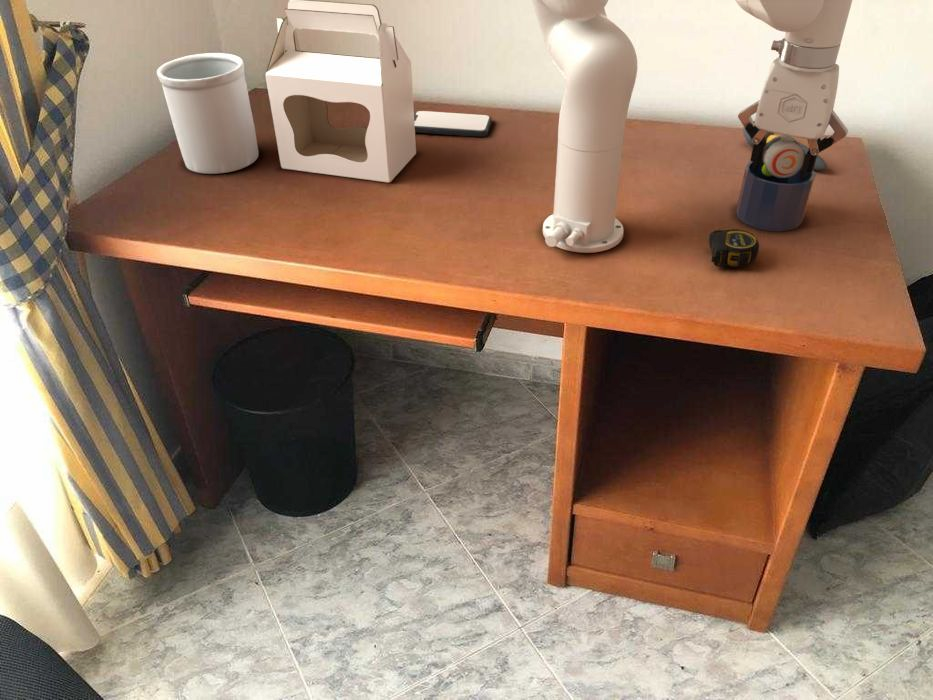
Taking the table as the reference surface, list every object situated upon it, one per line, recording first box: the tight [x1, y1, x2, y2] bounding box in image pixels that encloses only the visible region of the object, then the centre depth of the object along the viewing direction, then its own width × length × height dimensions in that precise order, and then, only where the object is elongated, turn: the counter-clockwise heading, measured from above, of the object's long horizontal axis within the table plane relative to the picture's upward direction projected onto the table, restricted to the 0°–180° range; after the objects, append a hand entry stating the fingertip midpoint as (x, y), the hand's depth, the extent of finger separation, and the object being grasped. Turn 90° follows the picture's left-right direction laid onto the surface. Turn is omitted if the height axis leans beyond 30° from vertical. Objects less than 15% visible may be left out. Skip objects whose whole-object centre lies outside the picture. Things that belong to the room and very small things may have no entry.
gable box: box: [264, 0, 417, 184], centre depth 137 cm, size 22×13×28 cm, turn 72°
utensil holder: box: [156, 52, 259, 175], centre depth 142 cm, size 15×15×18 cm
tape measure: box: [708, 228, 760, 268], centre depth 115 cm, size 7×7×4 cm
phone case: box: [414, 110, 493, 138], centre depth 158 cm, size 9×2×16 cm
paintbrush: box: [742, 120, 828, 171], centre depth 144 cm, size 20×5×5 cm, turn 38°
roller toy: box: [762, 134, 806, 178], centre depth 121 cm, size 4×6×6 cm
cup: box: [735, 160, 816, 232], centre depth 124 cm, size 10×10×8 cm
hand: (780, 170), depth 122 cm, fingers closed on roller toy, 6 cm apart
